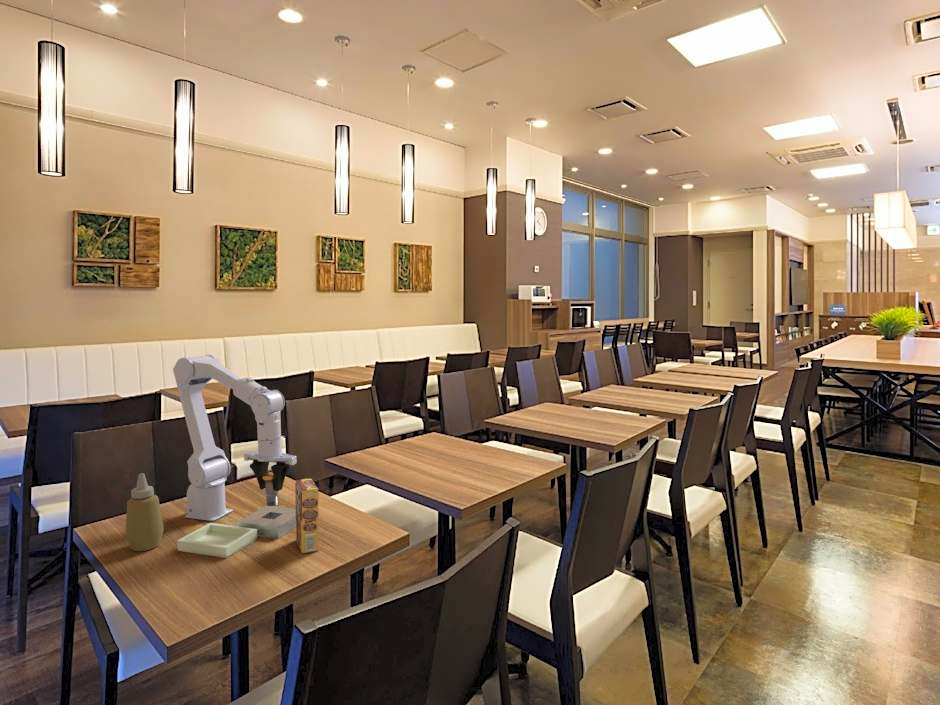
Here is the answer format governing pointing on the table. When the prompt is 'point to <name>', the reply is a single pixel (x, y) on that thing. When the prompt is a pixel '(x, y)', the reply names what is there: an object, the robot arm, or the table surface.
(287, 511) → the block
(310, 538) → the candy box
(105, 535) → the table surface
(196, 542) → the tray
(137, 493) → the squeeze bottle
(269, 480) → the copper-topped gray cylinder
